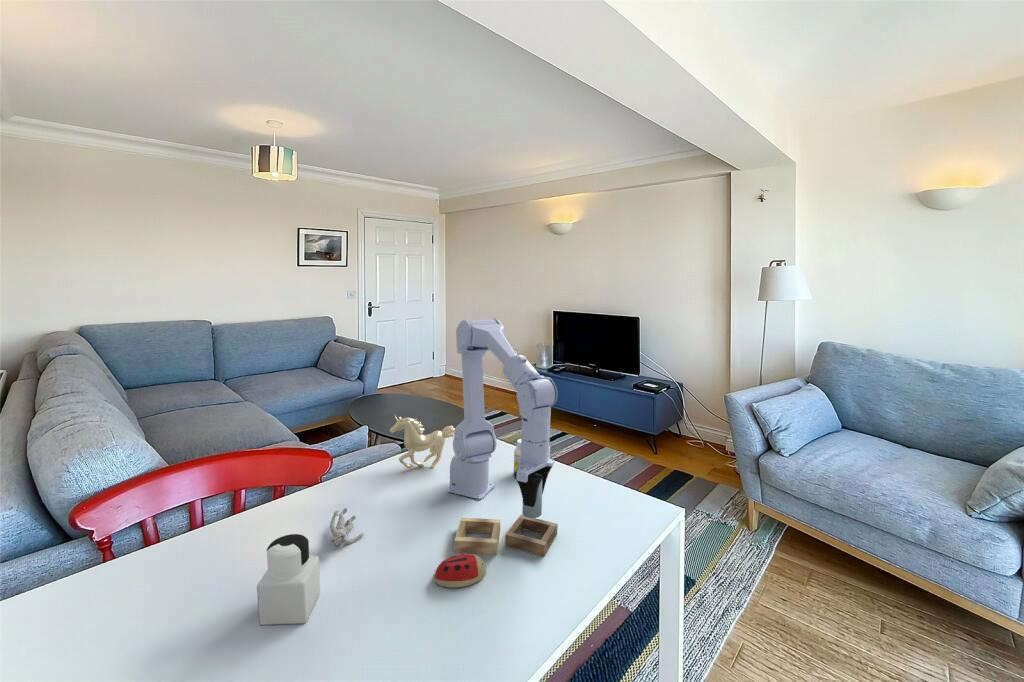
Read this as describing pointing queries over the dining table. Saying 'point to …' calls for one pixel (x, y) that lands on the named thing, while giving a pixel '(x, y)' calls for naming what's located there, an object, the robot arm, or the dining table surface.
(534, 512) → the thick gray cylindrical peg
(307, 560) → the white blocky bust figurine
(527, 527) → the wooden square ring
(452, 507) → the dining table surface
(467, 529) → the light wooden square frame
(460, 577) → the ladybug figurine
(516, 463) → the supplement bottle
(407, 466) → the unicorn
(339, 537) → the grey branched piece
